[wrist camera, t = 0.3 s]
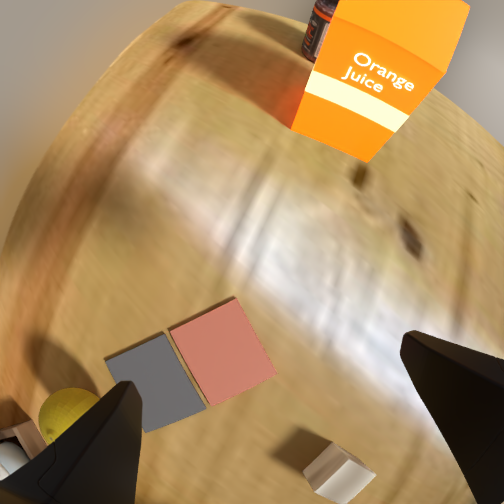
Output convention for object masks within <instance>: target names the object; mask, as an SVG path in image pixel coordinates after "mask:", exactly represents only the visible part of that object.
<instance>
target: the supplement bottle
mask: <svg viewBox="0 0 504 504" xmlns="http://www.w3.org/2000/svg"><path fill="white" fill-rule="evenodd" d="M339 1H340V0H317V1H316V2H315V5H314V8H313V11H312V15H311V18H310V21H309V24H308V28H307V30H306V34H305V37H304V40H303V44H302V52H303V53H304V55H305V56H306V57H307V58H308V59H310V60H311V61H312V62H316V60H317V57H318V55H319V52H320V50H321V47H322V44H323V42H324V38H325V36H326V33H327V31H328V28H329V26H330V23H331V20H332V17H333V15H334V12H335V10H336V8H337V6H338V3H339Z"/></svg>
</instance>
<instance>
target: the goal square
mask: <svg viewBox="0 0 504 504" xmlns="http://www.w3.org/2000/svg"><path fill="white" fill-rule="evenodd" d="M170 333H171V335H172V337H173V339H174V341H175V343H176V345H177V347H178V348H179V350H180V352H181V354H182V356H183V358H184V360H185V362H186V363H187V365H188V367H189V369H190V371H191V372H192V374H193V376H194V378H195V379H196V381H197V383H198V385H199V386H200V388H201V390H202V391H203V393H204V395H205V396H206V398H207V400H208V401H209V403H210V405H211V406H214V405H216V404H218V403H221V402H223V401H225V400H227V399H229V398H231V397H233V396H235V395H237V394H239V393H241V392H243V391H245V390H247V389H249V388H251V387H253V386H255V385H257V384H259V383H261V382H263V381H265V380H267V379H269V378H271V377H272V376H274V375H276V374H278V373H277V372H276V370H275V368H274V366H273V364H272V363H271V361H270V359H269V357H268V355H267V354H266V352H265V350H264V348H263V346H262V345H261V343H260V341H259V339H258V337H257V335H256V334H255V332H254V330H253V328H252V326H251V324H250V322H249V320H248V319H247V317H246V315H245V313H244V311H243V309H242V307H241V305H240V304H239V302H238V300H237V298H236V299H234V300H232V301H230V302H228V303H226V304H224V305H222V306H220V307H218V308H216V309H214V310H212V311H210V312H208V313H206V314H204V315H202V316H200V317H198V318H196V319H194V320H192V321H190V322H188V323H186V324H184V325H182V326H180V327H178V328H176V329H174V330H172V331H170Z"/></svg>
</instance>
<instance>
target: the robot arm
mask: <svg viewBox="0 0 504 504" xmlns="http://www.w3.org/2000/svg"><path fill="white" fill-rule="evenodd" d="M400 357H401V360H402V362H403V364H404V366H405V368H406V370H407V372H408V374H409V376H410V378H411V380H412V383H413V385H414V387H415V389H416V391H417V392H418V394H419V396H420V398H421V399H422V401H423V403H424V404H425V406H426V408H427V409H428V411H429V413H430V414H431V416H432V418H433V419H434V421H435V423H436V425H437V426H438V428H439V430H440V432H441V433H442V435H443V437H444V439H445V441H446V442H447V444H448V446H449V448H450V450H451V452H452V454H453V455H454V457H455V459H456V461H457V463H458V465H459V467H460V469H461V471H462V473H463V475H465V476H464V477H465V479H466V481H467V483H468V485H469V487H470V489H471V491H472V493H473V495H474V498H475V500H476V502H477V504H501V503H502V502H503V501H504V360H503V359H500V358H495V357H494V356H491V355H488V354H485V353H482V352H478V351H475V350H472V349H469V348H466V347H463V346H460V345H457V344H454V343H451V342H448V341H445V340H442V339H439V338H436V337H433V336H431V335H428V334H425V333H422V332H419V331H416V330H412V331H409V332H407V333H405V334H404V335H403V339H402V344H401V349H400ZM142 407H143V402H142V398H141V396H140V394H139V392H138V390H137V388H136V386H135V384H134V382H133V381H130V380H128V381H120V382H119V383H117V384H116V385H115V386H114V387H113V388H112V389H111V390H110V391H109V392H107V393H106V394H105V395H104V396H103V397H102V398H101V399H100V400H99V401H98V402H96V403H95V404H94V405H93V406H92V407H91V408H90V409H89V410H88V411H86V412H85V413H84V414H83V415H82V416H81V417H80V418H79V419H78V420H76V421H75V422H74V423H73V424H72V425H71V426H70V427H69V428H68V429H66V430H65V431H64V432H63V433H62V434H61V435H60V436H59V437H57V438H56V439H55V442H54V441H53V442H52V443H51V444H50V445H48V446H47V447H46V448H45V449H44V450H43V451H41V452H40V453H39V454H38V455H37V456H35V457H34V458H33V459H31V460H30V461H29V462H27V463H26V464H25V465H23V466H22V467H20V468H19V469H17V470H16V471H15V472H13V473H12V474H10V475H9V476H7V477H6V478H4V479H3V480H0V504H134V503H135V492H136V482H137V473H138V464H139V457H140V449H141V437H142Z"/></svg>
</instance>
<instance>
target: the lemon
mask: <svg viewBox="0 0 504 504" xmlns="http://www.w3.org/2000/svg"><path fill="white" fill-rule="evenodd" d="M99 400H100V399H99V398H98V397H97V396H96V395H94V394H93V393H91V392H90V391H87V390H84V389H81V388H66V389H61V390H59V391H57V392H55V393H53V394H52V395H51V396H49V397H48V398H47V399H46V401H45V402H44V403H43V405H42V406H41V409H40V412H39V426H40V430H41V433H42V435H43V437H44V439H45V440H46V442H47V443H48V444H49V445H50V444H51V443H52V442H53V441H54V442H55V439H56V438H57V437H59V436H60V435H61V434H62V433H63V432H64V431H65V430H66V429H68V428H69V427H70V426H71V425H72V424H73V423H74V422H75V421H76V420H78V419H79V418H80V417H81V416H82V415H83V414H84V413H85V412H86V411H88V410H89V409H90V408H91V407H92V406H93V405H94V404H95V403H96V402H98V401H99Z"/></svg>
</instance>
